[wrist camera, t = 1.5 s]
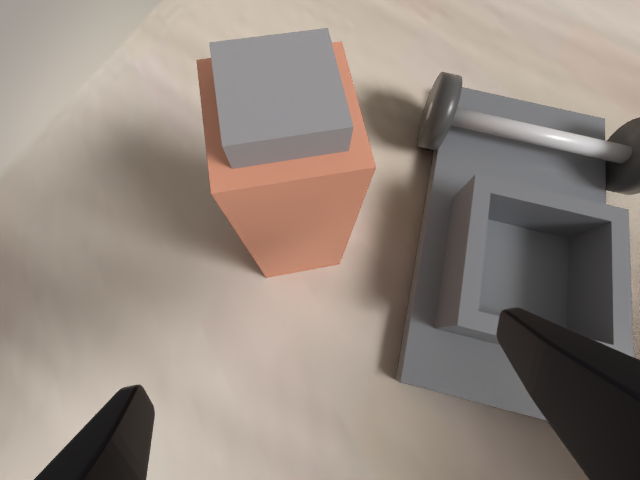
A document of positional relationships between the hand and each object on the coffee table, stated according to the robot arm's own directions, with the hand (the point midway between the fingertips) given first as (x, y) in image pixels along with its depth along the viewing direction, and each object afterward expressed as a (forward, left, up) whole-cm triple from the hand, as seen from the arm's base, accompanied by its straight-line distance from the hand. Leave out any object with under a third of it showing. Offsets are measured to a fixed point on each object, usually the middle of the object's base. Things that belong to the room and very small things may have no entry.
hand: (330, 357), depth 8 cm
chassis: (+12, -9, -13) cm, 20 cm away
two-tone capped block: (+6, +4, -13) cm, 15 cm away
